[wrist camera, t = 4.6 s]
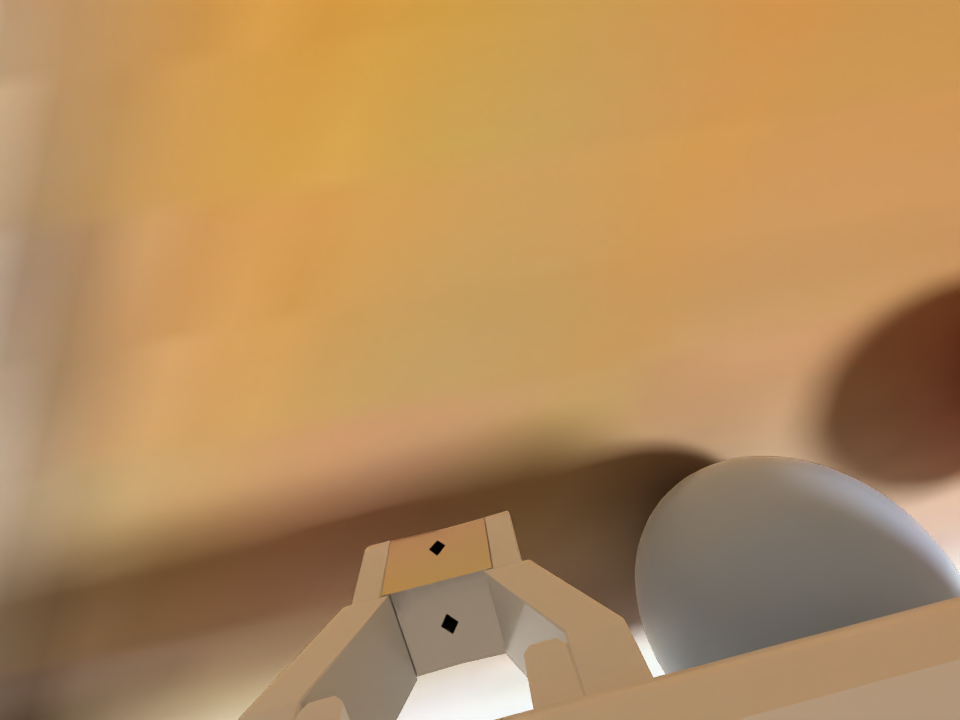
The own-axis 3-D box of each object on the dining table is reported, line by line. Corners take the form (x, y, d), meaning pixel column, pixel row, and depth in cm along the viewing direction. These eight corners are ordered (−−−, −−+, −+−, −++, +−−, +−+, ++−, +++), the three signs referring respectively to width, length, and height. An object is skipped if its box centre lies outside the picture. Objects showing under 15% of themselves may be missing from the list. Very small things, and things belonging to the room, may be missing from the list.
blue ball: (1207, 740, 5) (896, 383, 9) (637, 707, 6) (606, 418, 11) (1019, 842, 8) (855, 539, 12) (670, 801, 9) (635, 549, 14)
